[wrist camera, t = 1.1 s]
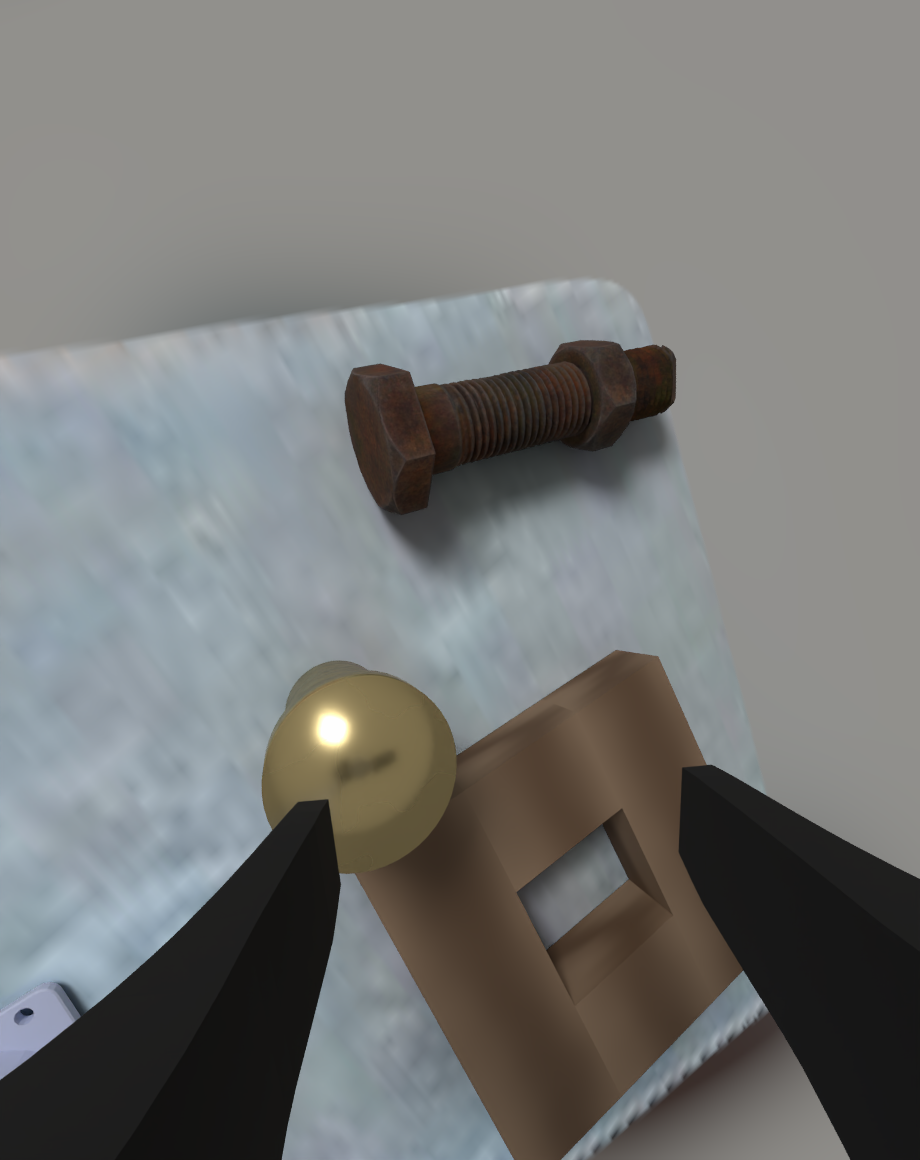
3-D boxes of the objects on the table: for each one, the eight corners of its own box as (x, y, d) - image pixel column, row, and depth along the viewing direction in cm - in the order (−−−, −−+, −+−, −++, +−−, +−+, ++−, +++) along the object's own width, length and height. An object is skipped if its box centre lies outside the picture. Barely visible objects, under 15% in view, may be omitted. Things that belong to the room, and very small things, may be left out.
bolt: (614, 421, 28) (357, 485, 23) (621, 319, 25) (332, 366, 20) (701, 443, 23) (405, 531, 18) (721, 323, 21) (382, 384, 15)
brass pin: (308, 796, 20) (321, 915, 12) (248, 688, 19) (223, 743, 12) (416, 729, 22) (486, 798, 14) (363, 626, 21) (406, 641, 13)
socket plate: (500, 1114, 22) (531, 1190, 19) (343, 830, 20) (352, 868, 18) (728, 896, 27) (780, 931, 24) (616, 650, 25) (658, 656, 22)
